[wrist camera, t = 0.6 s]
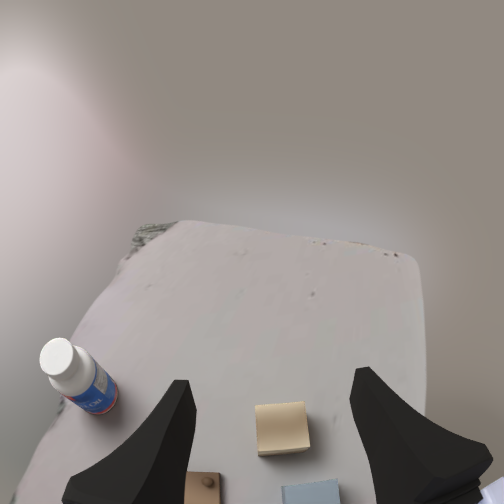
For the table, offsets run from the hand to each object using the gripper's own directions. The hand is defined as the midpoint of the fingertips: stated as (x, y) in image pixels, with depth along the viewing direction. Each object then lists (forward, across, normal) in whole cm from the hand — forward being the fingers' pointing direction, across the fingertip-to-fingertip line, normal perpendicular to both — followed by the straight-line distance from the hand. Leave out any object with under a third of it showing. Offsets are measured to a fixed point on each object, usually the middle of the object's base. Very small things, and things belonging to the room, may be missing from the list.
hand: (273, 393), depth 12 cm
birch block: (+9, -1, +16) cm, 19 cm away
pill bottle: (+12, +19, +14) cm, 27 cm away
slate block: (+2, -3, +20) cm, 20 cm away
